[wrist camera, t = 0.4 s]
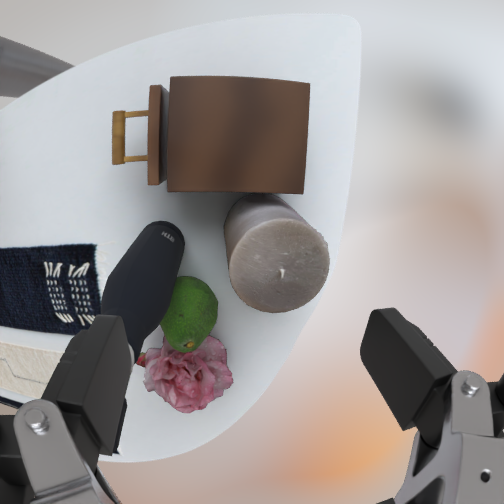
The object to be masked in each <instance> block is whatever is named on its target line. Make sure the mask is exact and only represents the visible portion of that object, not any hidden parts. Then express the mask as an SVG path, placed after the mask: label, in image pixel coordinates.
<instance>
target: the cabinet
mask: <svg viewBox="0 0 504 504" xmlns="http://www.w3.org/2000/svg"><path fill="white" fill-rule="evenodd" d="M309 100H310V83H304V82H296V81H288V80H279V79H268V78H255V77H238V76H175V77H170V91H169V110H168V141H167V191H168V192H254V193H284V194H303V193H304V181H305V168H306V153H307V138H308V120H309Z"/></svg>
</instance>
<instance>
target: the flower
mask: <svg viewBox="0 0 504 504" xmlns="http://www.w3.org/2000/svg"><path fill="white" fill-rule="evenodd" d="M136 364H137V365H140V366H142V367H145V368H146V371H145V375H144V381H143V382H144V385H145V387H146V389H147V391H148V392H150V391H153V390H154V391H155V392H156V393H157V394H158V395H159V396H161V397H162V398H163V399H164V401H165V402H168V403H169V404H170V405H171V406H172V407H173V408H175V409H176V410H178V411H180V412H182V413H191V412H193V411H194V410H202V409H204V408H206V406H207V404H208V403H209V402H211V401H213V400H214V399H215V398H216V397H221V396H222V395H223V389H228V388H229V387H230V386H231V384H233V379H232V373H231V371H230V370H229V369H228V367H227V366H226V364H227V352H226V349H225V348H224V345H223V344H222V343H221V342H220V341H219V339H215V338H213V337H211V336H209V335H208V336H207V337H206V338H205V340H204V341H203V342H202V343H201V345H200V346H199V347H198V348H197V349H196V350H195V351H190V352H186V353H183V352H180V351H177V350H176V349H174V348H173V347H172V346H171V345H170V344H169V342H168V341H167V339H166V337H165V335H164V338H163V346H162V349H157V348H149V349H148V351H147V352H146V353H143V352H142V353H140V356H139V358H138V361H137V362H136Z"/></svg>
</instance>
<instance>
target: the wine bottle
mask: <svg viewBox="0 0 504 504" xmlns="http://www.w3.org/2000/svg"><path fill="white" fill-rule="evenodd" d="M184 246H185V242H184V237H183V235H182V233H181V231H180V230H179V229H178V228H177V227H176V226H175V225H173V224H171V223H169V222H166V221H156V222H152V223H151V224H149V225H147V226H146V227H145V228H144V229H143V231H142V232H141V233H140V234H139V236H138V237H137V238H136V240H135V241H134V242H133V244H132V245H131V246H130V248H129V249H128V250H127V252H126V253H125V254H124V256H123V257H122V259H121V260H120V261H119V263H118V264H117V265H116V267H115V268H114V270H113V271H112V272H111V274H110V275H109V277H108V279H107V282H106V286H105V289H104V292H103V296H102V300H101V315H113V316H121V317H122V319H123V323H124V327H125V332H126V336H127V341H128V345H129V349H130V353H131V360H132V368H133V365H134V364H135V363H136V362H137V361H138V358H139V356H140V352H141V349H142V345H143V342H144V339H145V338H146V337H147V336H148V335H150V334H151V333H152V332H153V331H154V330H155V329H156V328H157V327H158V325H159V324H160V322H161V321H162V319H163V318H164V316H165V314H166V312H167V310H168V308H169V306H170V302H171V298H172V294H173V290H174V286H175V282H176V278H177V275H178V271H179V267H180V263H181V260H182V256H183V252H184ZM132 368H131V372H132ZM126 409H127V402H126V399H125V398H124V402H123V406H122V411H121V415H120V419H119V424H118V429H117V433H116V438H115V443H114V448H113V452H115V451H116V450H117V448H118V445H119V440H120V436H121V431H122V426H123V422H124V417H125V413H126ZM102 455H103V454H102Z"/></svg>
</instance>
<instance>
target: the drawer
mask: <svg viewBox="0 0 504 504" xmlns="http://www.w3.org/2000/svg"><path fill="white" fill-rule="evenodd" d="M168 110H169V92H168V91H167V90H166V89H165V88H164V87H163V86H162V85H150V92H149V110H146V111H133V112H126V111H114V112H113V116H112V165H118V164H125V162H134V161H148V185H159V184H161V183H162V182H163V181H164V180H166V179H167V141H168ZM142 116H148V155H141V156H125V119H126V118H130V117H142Z"/></svg>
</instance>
